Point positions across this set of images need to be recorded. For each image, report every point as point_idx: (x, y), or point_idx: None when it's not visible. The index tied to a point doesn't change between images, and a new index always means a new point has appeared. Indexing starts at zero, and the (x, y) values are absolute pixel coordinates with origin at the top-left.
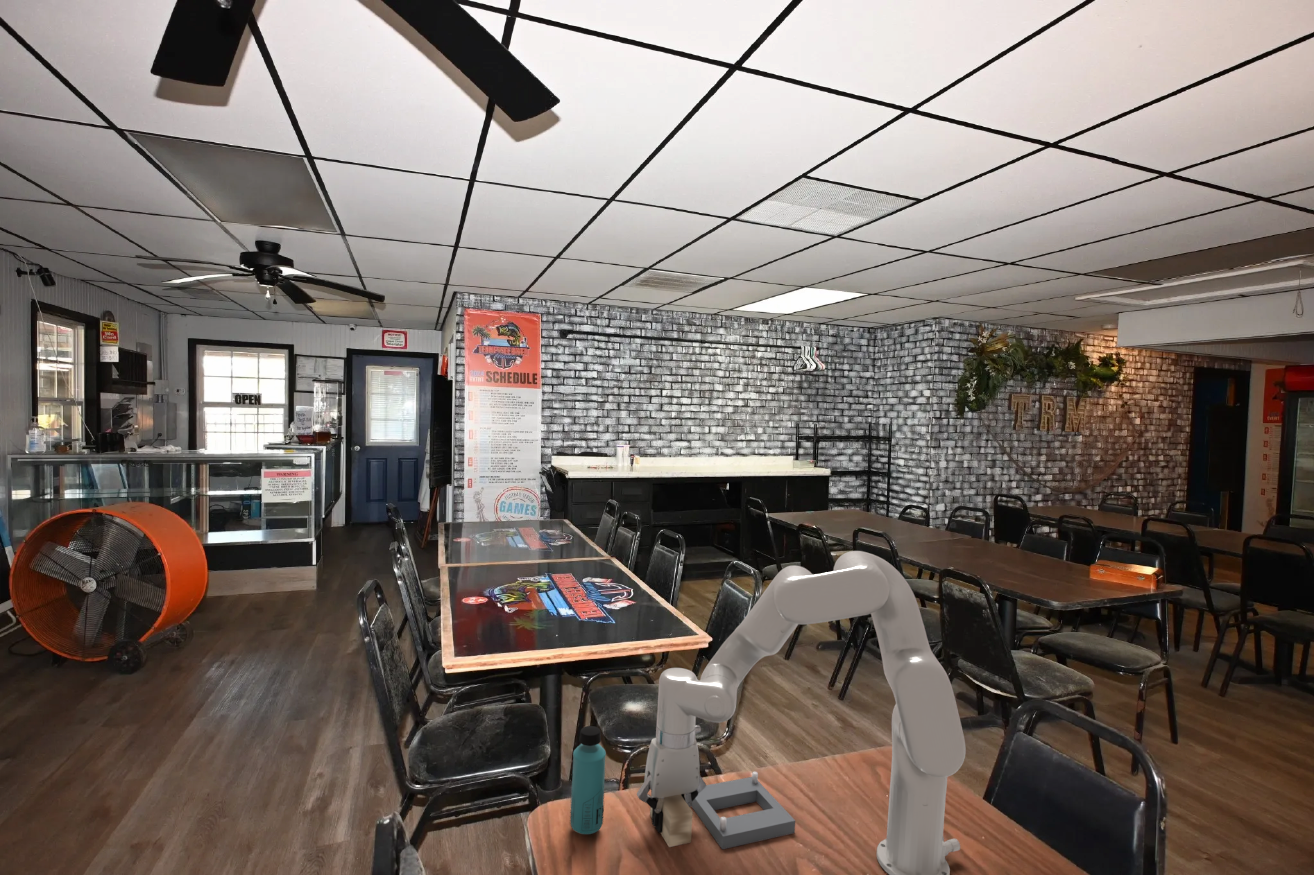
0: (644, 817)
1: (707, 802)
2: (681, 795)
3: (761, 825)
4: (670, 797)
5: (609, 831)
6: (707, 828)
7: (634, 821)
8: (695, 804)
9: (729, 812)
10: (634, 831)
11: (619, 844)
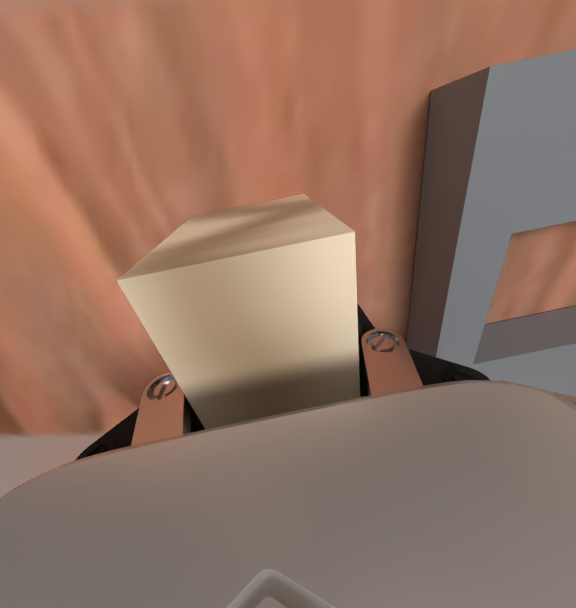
0: (163, 230)
1: (502, 257)
2: (365, 372)
3: (572, 392)
4: (280, 411)
5: (7, 312)
6: (409, 319)
7: (114, 256)
8: (441, 218)
9: (552, 231)
10: (125, 317)
11: (78, 373)
